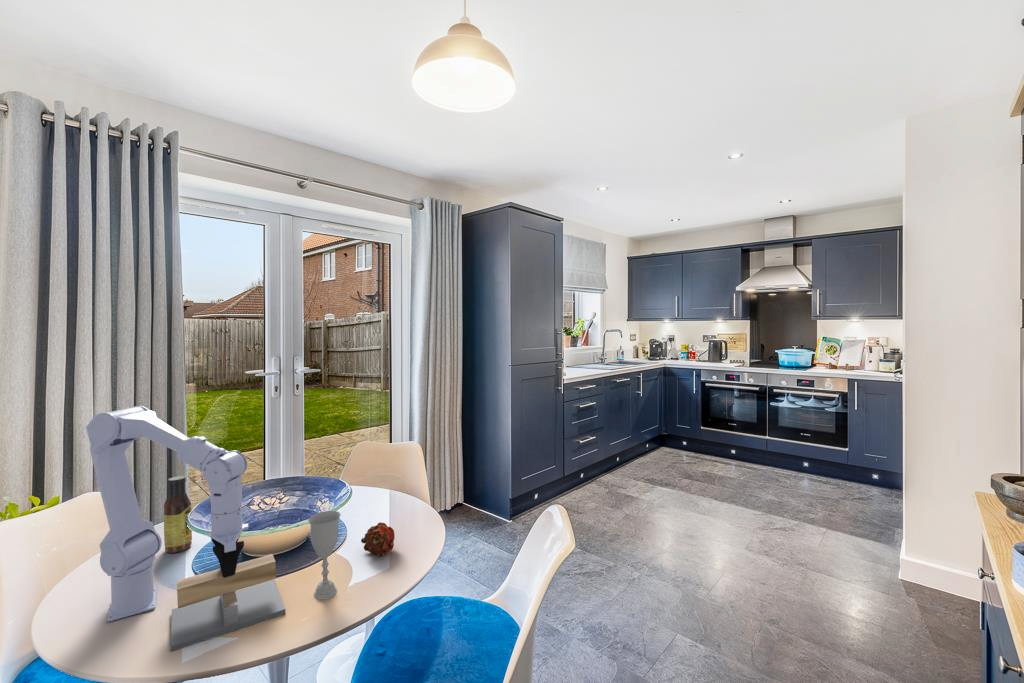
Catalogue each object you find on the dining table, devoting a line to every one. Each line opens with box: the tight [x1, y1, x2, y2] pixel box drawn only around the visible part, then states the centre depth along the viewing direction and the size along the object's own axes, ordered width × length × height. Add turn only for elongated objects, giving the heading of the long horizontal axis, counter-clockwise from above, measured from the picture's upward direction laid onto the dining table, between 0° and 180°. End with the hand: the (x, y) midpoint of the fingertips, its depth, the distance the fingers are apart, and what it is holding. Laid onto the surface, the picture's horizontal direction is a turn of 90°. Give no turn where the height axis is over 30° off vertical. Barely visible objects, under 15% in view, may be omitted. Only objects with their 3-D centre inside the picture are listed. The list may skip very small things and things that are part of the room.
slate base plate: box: [170, 579, 286, 652], centre depth 99 cm, size 14×20×1 cm
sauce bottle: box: [163, 475, 193, 554], centre depth 128 cm, size 7×6×20 cm
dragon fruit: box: [360, 522, 395, 557], centre depth 127 cm, size 8×8×12 cm
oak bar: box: [176, 553, 277, 608], centre depth 100 cm, size 4×18×4 cm, turn 126°
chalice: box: [307, 510, 341, 600], centre depth 107 cm, size 7×7×18 cm
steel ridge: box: [220, 591, 238, 627], centre depth 99 cm, size 13×2×4 cm, turn 36°
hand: (227, 571), depth 100 cm, fingers closed on oak bar, 4 cm apart
